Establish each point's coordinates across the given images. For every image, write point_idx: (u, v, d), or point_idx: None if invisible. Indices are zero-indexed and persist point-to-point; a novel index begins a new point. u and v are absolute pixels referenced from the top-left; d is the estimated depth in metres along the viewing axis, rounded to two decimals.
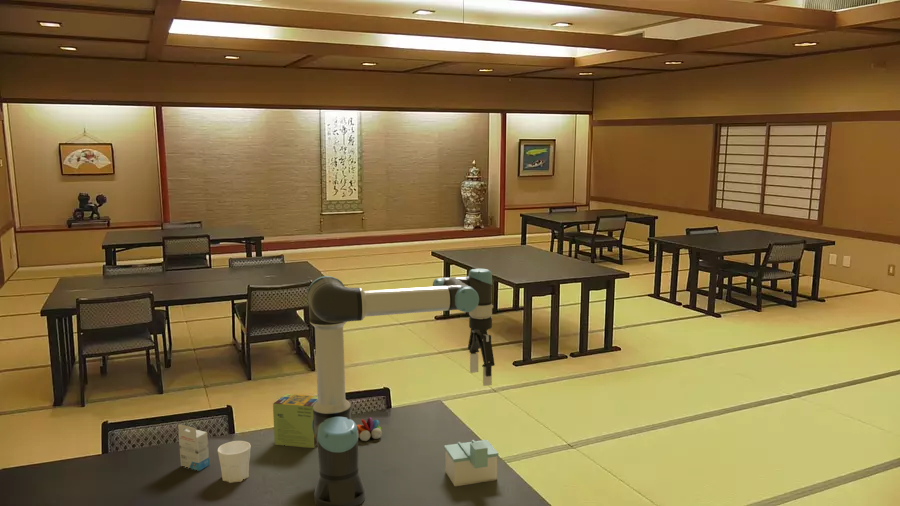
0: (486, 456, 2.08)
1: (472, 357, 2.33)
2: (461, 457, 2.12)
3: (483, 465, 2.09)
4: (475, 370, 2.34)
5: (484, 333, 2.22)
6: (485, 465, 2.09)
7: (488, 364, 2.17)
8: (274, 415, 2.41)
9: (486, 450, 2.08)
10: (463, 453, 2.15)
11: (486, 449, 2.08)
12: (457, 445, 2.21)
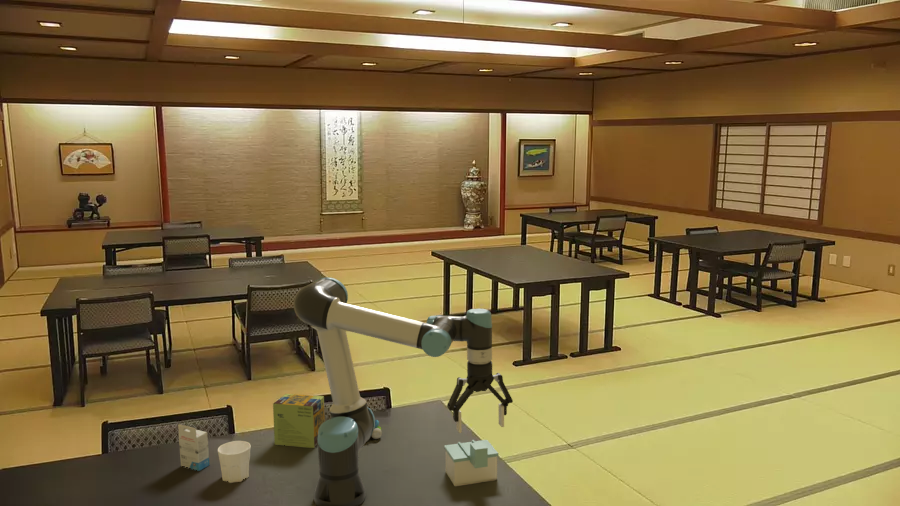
0: (486, 456, 2.08)
1: (499, 408, 2.10)
2: (461, 457, 2.12)
3: (483, 465, 2.09)
4: (500, 423, 2.10)
5: (468, 377, 2.05)
6: (485, 465, 2.09)
7: (447, 406, 2.05)
8: (274, 415, 2.41)
9: (486, 450, 2.08)
10: (463, 453, 2.15)
11: (486, 449, 2.08)
12: (457, 445, 2.21)
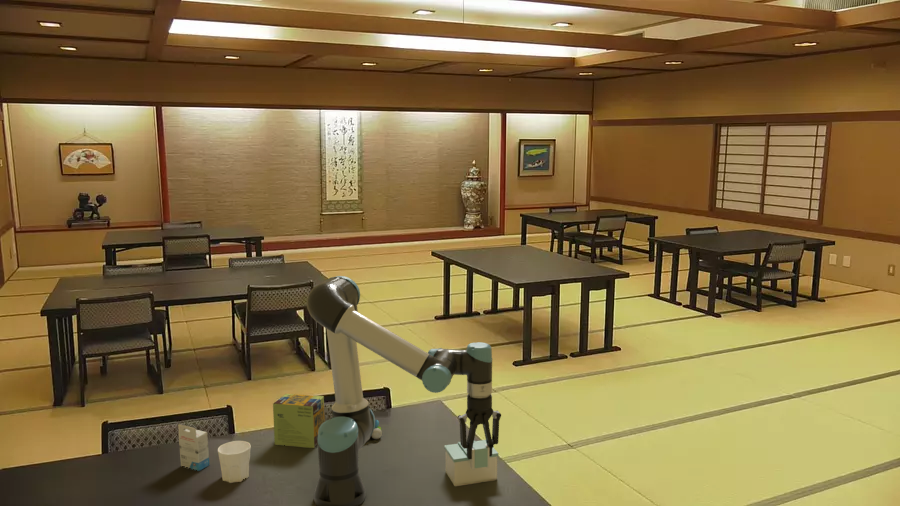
0: (486, 456, 2.08)
1: None
2: (461, 457, 2.12)
3: (483, 465, 2.09)
4: None
5: (466, 412, 2.06)
6: (485, 465, 2.09)
7: (461, 443, 2.08)
8: (274, 415, 2.41)
9: (486, 450, 2.08)
10: (463, 453, 2.15)
11: (486, 449, 2.08)
12: (457, 445, 2.21)
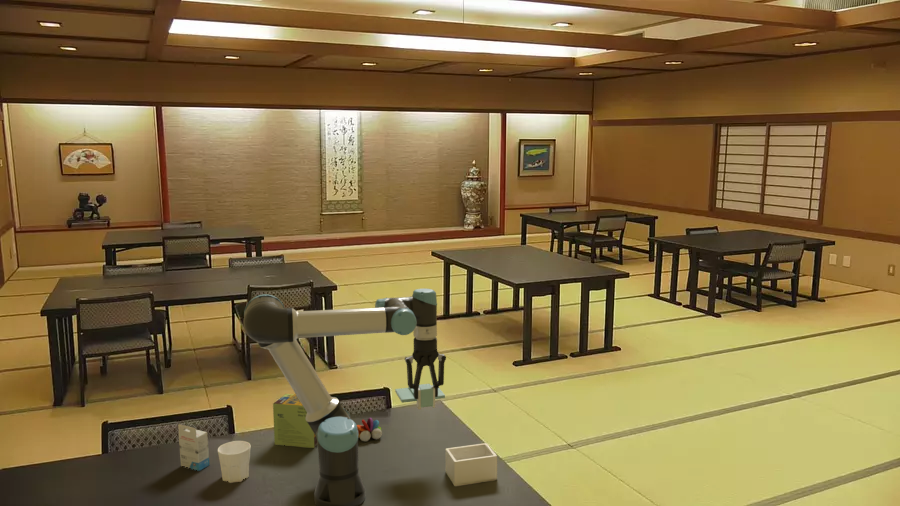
0: (432, 396, 2.21)
1: None
2: (409, 398, 2.24)
3: (429, 405, 2.21)
4: None
5: (413, 354, 2.19)
6: (431, 405, 2.21)
7: (408, 384, 2.21)
8: (274, 415, 2.41)
9: (432, 390, 2.21)
10: (412, 395, 2.27)
11: (432, 389, 2.20)
12: (407, 389, 2.33)
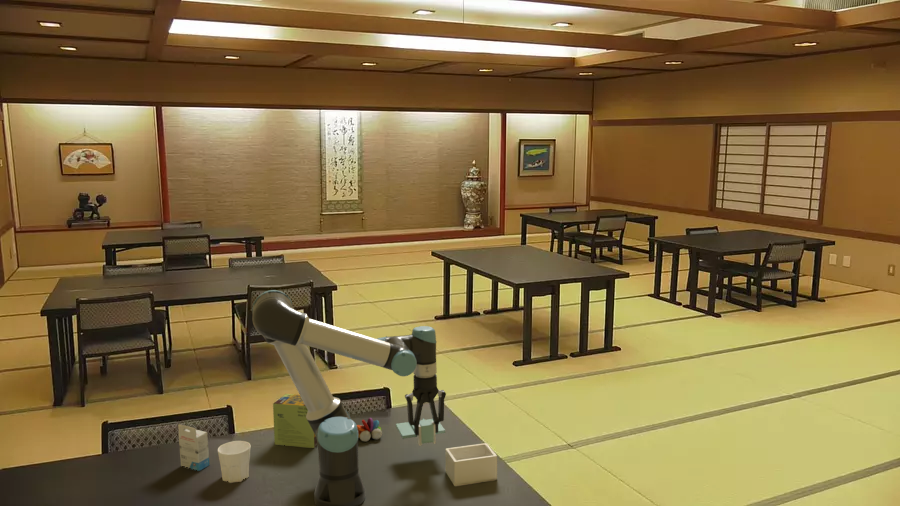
0: (432, 432, 2.23)
1: None
2: (410, 434, 2.26)
3: (429, 441, 2.23)
4: None
5: (413, 391, 2.21)
6: (431, 441, 2.23)
7: (408, 421, 2.23)
8: (274, 415, 2.41)
9: (432, 427, 2.23)
10: (412, 430, 2.29)
11: (432, 426, 2.23)
12: (408, 423, 2.35)
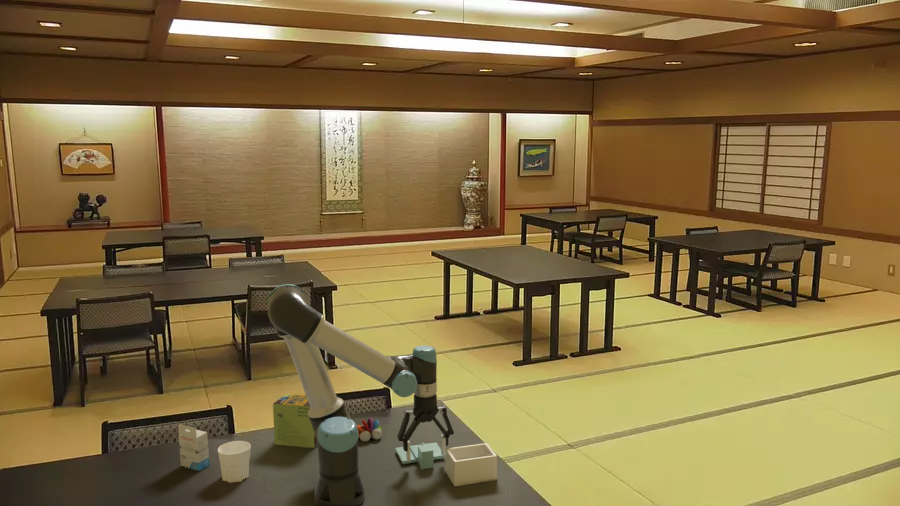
0: (432, 458, 2.24)
1: (441, 439, 2.27)
2: None
3: (429, 466, 2.24)
4: (442, 453, 2.27)
5: (414, 409, 2.22)
6: (431, 466, 2.24)
7: (397, 437, 2.22)
8: (274, 415, 2.41)
9: (432, 452, 2.24)
10: (412, 455, 2.30)
11: (432, 451, 2.24)
12: None
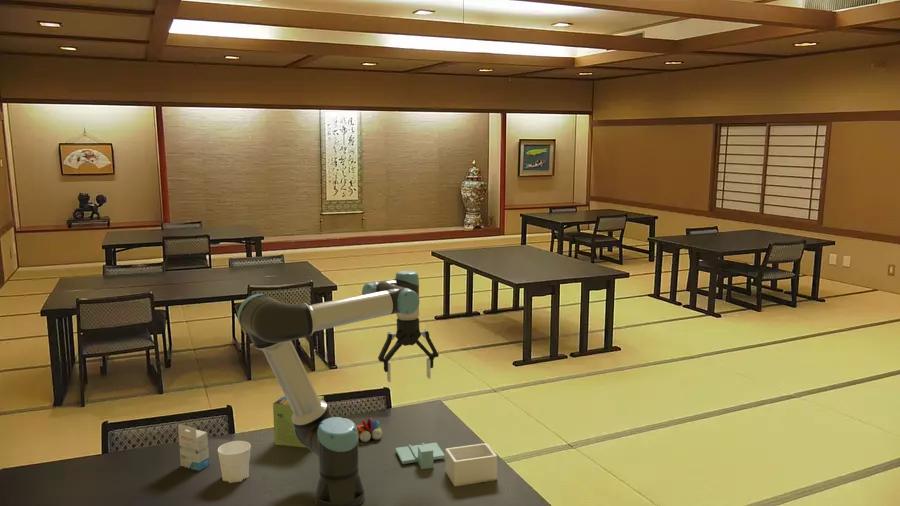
0: (432, 458, 2.24)
1: (427, 361, 2.32)
2: (409, 459, 2.27)
3: (429, 466, 2.24)
4: (427, 375, 2.32)
5: (397, 332, 2.28)
6: (431, 466, 2.24)
7: (378, 357, 2.28)
8: (274, 415, 2.41)
9: (432, 452, 2.24)
10: (412, 455, 2.30)
11: (432, 451, 2.24)
12: (407, 448, 2.36)
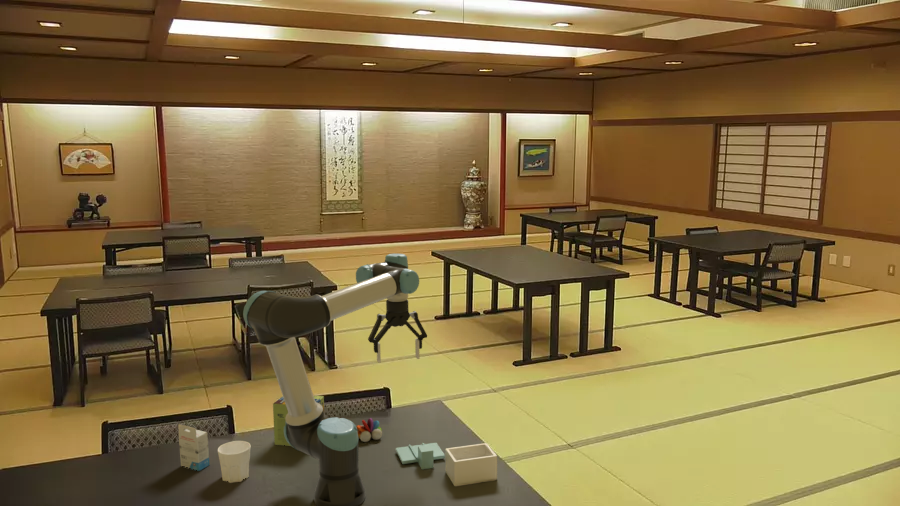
0: (432, 458, 2.24)
1: (415, 342, 2.38)
2: (409, 459, 2.27)
3: (429, 466, 2.24)
4: (416, 356, 2.37)
5: (386, 314, 2.33)
6: (431, 466, 2.24)
7: (368, 339, 2.33)
8: (274, 415, 2.41)
9: (432, 452, 2.24)
10: (412, 455, 2.30)
11: (432, 451, 2.24)
12: (408, 448, 2.36)
